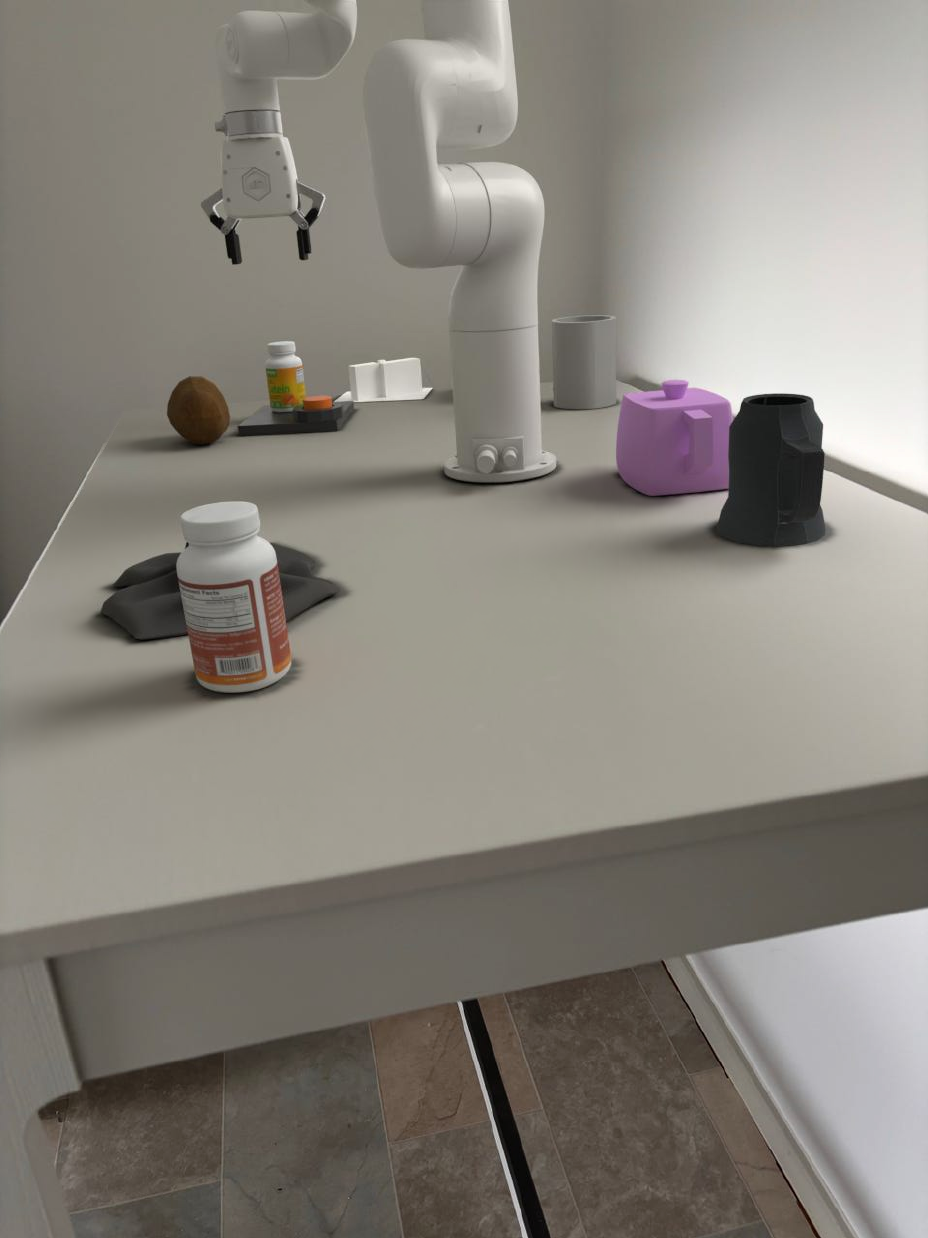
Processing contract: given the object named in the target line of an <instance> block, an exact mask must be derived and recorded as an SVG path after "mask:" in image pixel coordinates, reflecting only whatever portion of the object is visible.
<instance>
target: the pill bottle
mask: <svg viewBox="0 0 928 1238" xmlns="http://www.w3.org/2000/svg"><path fill="white" fill-rule="evenodd" d="M261 524H262V523H261V520H260V514H259V509H258V506H257V505H256V504H255V503H252V502H249V501H237V500H236V501H233V500H232V501H219V502H213V503H208V504H203V505H199V506H195V507H193V508H191V509H190V508H189V509H187V510H186V511H184V512H183V513H182V514H181V515H180V525H181V531H182V535H183V540H184V541H185V543H186V542H188V543H189V546H188V547H187V548H186V549H185V548H184V549H183V550H182V551H181V552H182V553H181V554H180V556H179V557H178V560H177V564H176V567H177V575H178V581H179V586H180V592H181V597H182V603H183V608H184V613H185V619H186V624H187V630H188V634H187V636H188V641H189V646H190V653H191V658H192V663H193V669H194V673H195V677H196V680H197V682H198V683H199V684H200V685H201V686H202V687H203V688H205V689H207V690H210V691H212V692H217V693H227V694H228V693H229V694H230V693H231V694H235V693H236V694H237V693H246V692H253V691H257V690H260V689H263V688H266V687H268V686H271V685H273V684H274V683H277V682H278V681H280V680H281V679H282V678H284V676H286V674H287V673H288V672H289V670H290V669H291V667H292V653H291V647H290V640H289V634H288V627H287V621H286V619H285V612H284V605H283V598H282V592H281V584H280V577H279V570H278V564H277V558H276V553H275V550H274V548H273V547H272V545H271V544H270V543H271V542H269V541H268V540H266V539H265V538H263V537H261V536H258V533H260V530H261V528H260V527H261Z"/></svg>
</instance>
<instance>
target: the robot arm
mask: <svg viewBox="0 0 928 1238" xmlns="http://www.w3.org/2000/svg"><path fill="white" fill-rule="evenodd" d="M304 1H305V3H306V4H309V5H310V6H312V7H313V8H315V9H316V10H315V11H314V12H313V13H306V12H305V13H304V12H292V11H291V12H290V11H273V10H272V11H267V10H243V11H240V12H238V13H236V14H234V15H233V16H232V17H231V20H230V21H229V22H228V23H224V24H222V25H220V26H218V27H217V28H216V30H215V32H214V37H213V39H214V50H215V56H216V57H215V58H216V65H217V72H218V79H219V87H220V95H221V102H222V109H223V115H222V118H221V120H220V121H215V122H214V129H215V133H221V134H224V136H225V137H226V140H222V141H221V144H220V176H221V188H220V189H218V190H217V191H215V192H214V193H213V194H211V195H210V196H208V197H206V198H205V199H204V200H202V201H201V203H200V207H201V208H202V209H203V212H204V213H205V215H206V217H207V218H208V219H209V221H210V223H211V224H212V225H213V226H214V227H215V228H216V229H218V230H219V231H220V233H221V234H222V235H224V241H225V248H226V254H227V258H228V259H229V260H230V259H231V265H233V266H235V265H240V264H243V258H242V249H241V243H240V235H239V234H238V233H236V230H237V228H238V226H239V224H240V223H241V221H242V220H246V219H248V220H249V219H264V218H279V217H280V218H281V217H289V218H290V219H291V220H292V221H294V223H295V224H296V225H297V228H298V229H297V230H296V231H295V232H296V233H295V234H296V242H297V250H298V259H299V260H300V261H307V260H309V255H310V254H312V243H311V233H310V230H311V228H312V226H313V224H314V223H315V222H316V221H317V220H318V218H319V217H320V215H321V211H322V210H323V206H324V203H325V200H326V194H324V193H323V192H321V191H318V190H316V189H314V188H312V187H310V186H307V185H305V184H303V183H301V182H299V179H298V174H297V168H296V164H295V159H294V154H293V151H292V147H291V144H290V140H289V138H288V137H286V136H284V135H283V134H284V133H283V132H284V131H283V123H282V114H281V106H280V98H279V89H278V81H277V80H302V81H303V80H305V81H307V80H308V81H314V80H320V79H323V78H326V77H327V76H329V75H330V74H332V72H334V70H335V69H336V68H337V67H338V66H339V65H340V63H341V62H342V60H343V59H344V58H345V56H346V55H347V54H348V52H349V51H350V50H351V47H352V46H353V43H354V40H355V37H356V32H357V23H358V6H357V0H304ZM420 8H421V18H422V24H423V33H424V34H423V35H424V39H421V38H420V39H419V38H418V39H417V38H402V39H397V40H392V41H389V42H387V43H386V44H384V45H382V46H381V47H380V48H379V49H378V50H377V51H376V52H375V53H374V54H373V56H372V58H371V59H370V61H369V63H368V66H367V69H366V72H365V75H364V82H363V86H362V88H363V89H362V115H363V127H364V133H365V140H366V146H367V154H368V161H369V169H370V176H371V182H372V189H373V196H374V204H375V209H376V216H377V222H378V227H379V231H380V236H381V239H382V241H383V244H384V246H385V248H386V251H387V252H388V254H389V256H390V257H391V258H392V259H393V261H395V262H396V263H397V264H399V265H401V266H403V267H405V268H408V269H416V270H418V269H419V270H421V269H434V268H444V267H446V268H447V267H456V266H461V268H460V270H459V273H458V275H457V278H456V279H455V282H454V285H453V288H452V290H451V293H450V297H449V301H448V302H449V303H448V312H447V313H448V314H447V315H448V333H449V334H448V336H449V337H448V338H449V349H450V350H449V351H450V352H449V353H450V366H451V367H450V368H451V383H452V399H453V413H454V416H453V417H454V429H455V431H454V432H455V446H456V447H455V448H456V454H455V455H453V456H451V457H449V458H447V459H446V460H445V461H444V462H443V471H444V474H445V475H446V476H447V477H449V478H451V479H452V480H453V479H454V480H458V481H461V482H466V483H467V482H469V483H484V484H488V483H489V484H491V483H495V484H496V483H509V482H520V481H526V480H530V479H531V480H532V479H534V478H539V477H542V476H545V475H548V474H550V473H552V472H553V471H554V470H555V469H556V468H557V457H556V455H555V454H554V453H552V452H550V451H547V450H543V441H542V411H541V410H542V409H541V408H542V407H541V405H542V404H541V378H540V347H539V310H538V309H539V308H538V307H539V306H538V283H539V282H538V279H539V264H540V263H539V262H540V254H541V246H542V240H543V234H544V226H545V214H546V213H545V212H546V211H545V200H544V196H543V193H542V190H541V188H540V185H539V183H538V182H537V180H536V179H535V178H534V177H533V176H532V175H531V173H529V172H528V171H527V170H526V169H523V168H521V167H520V166H518V165H515V164H512V163H506V162H499V161H479V162H478V161H477V162H457V163H442V164H440V163H439V164H438V155H437V151H456V150H457V151H458V150H461V151H462V150H476V149H485V148H491V147H495V146H498V145H500V144H503V143H504V142H505V141H507V140H508V139H509V138H510V136H511V135H512V134H513V132H514V130H515V128H516V125H517V120H518V117H519V116H518V115H519V100H518V85H517V73H516V65H515V53H514V45H513V33H512V23H511V14H510V7H509V0H420ZM301 195H302V196H305V197H306V198H309V199H310V200H311V201H312V204H311V206H310V207H311V208H310V210H309V211H307V213H306V214H304V213H303V212H302V211H301V210H302V199H301ZM222 202H223V210H224V213H225V215H226V216H227V217H226V219H224V218H223V217H222V216H221V215H220V214H219V213H218V211H217V209H216V206H217V205H219V204H220V203H222Z"/></svg>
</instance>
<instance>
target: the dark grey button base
mask: <svg viewBox="0 0 928 1238" xmlns="http://www.w3.org/2000/svg"><path fill="white" fill-rule="evenodd" d="M354 403H355V402H353V401H341V402H334V401H332V407H330V408H325V409H315V410H307V409H304V407H303V405H300V406H296V407H294V408H293V412H287V413H276V412H273V411H272V410H271V407H270V404H269V405H268V404H267V405H263V406H261V407H260V408H259V409H258V410H256V411H254V412H253V413H252V414H251V415H250V416H249V417H247V418H246V419H245V420H243V421H242V422H241V423H240V424H239V425H237V430H238V431H237V432H238V436H239V437H243V436H244V437H245V436H262V435H263V436H264V435H283V434H299V433H300V434H302V433H303V434H304V433H323V432H338V431H339V430H340V428H341V427H342V426H343V425H344V423H345V422H346V421H347V420H348V419H349V418H350V416H351V415H352V414H353V412H354V411H355V404H354Z"/></svg>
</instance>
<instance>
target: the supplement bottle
mask: <svg viewBox="0 0 928 1238" xmlns="http://www.w3.org/2000/svg"><path fill="white" fill-rule="evenodd" d="M266 346H267V353H268V355H270V358H268V359H267V360H266V361H265V365H264V366H265V367H264V368H265V375H266V382H267V390H268V397H269V405H270V407H271V410H272V411H273V412H276V413H287V412H293V408H294V407H296V406H300V405H303V399H304V398H307V394H306V393H307V392H306V386H305V379H304V378H305V376H304V368H303V361H302V359H301V358H300V357H299V356H297V355H295V353H296V350H297V348H296V343H295V341H293V340H291V341H290V340H285V341H274V342H269V343H267V345H266Z"/></svg>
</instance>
